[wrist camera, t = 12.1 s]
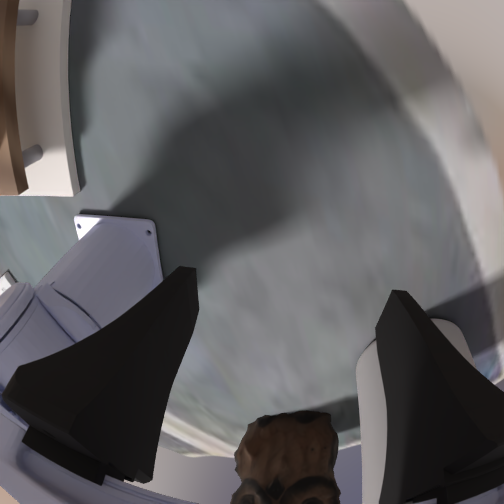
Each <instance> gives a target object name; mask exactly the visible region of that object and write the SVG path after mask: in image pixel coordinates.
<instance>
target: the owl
mask: <svg viewBox="0 0 504 504" xmlns="http://www.w3.org/2000/svg"><path fill="white" fill-rule="evenodd" d="M338 443H339V440H338V435H337V433H336V432H335V431H334V429H333V427H332V425H331V415H330V414H329V413H323V412H314V411H298V412H295V413H292V414H287V413H281V414H279V415H274V416H269V415H265V416H263V417H260V418H257V420H256V421H255V422H253V423H251V424H248V429H247V432H246V434H245V435H244V437H243V438H242V440H241V443H240V445H239V447H238V449H237V450H236V452H235V454H234V456H235V461H236V463H237V465H236V468H235V471H236V472H237V473H238V476H239V477H240V479H241V481H242V484H241V486H240V487H239V488H238V489H237V491H236V492H235V493H234V494H233V495H232V499H231V502H230V504H340V500H339V496H340V494H341V492H340V490H339V488H338V486H337V483H336V481H335V478H334V471H333V468H334V465H335V462H336V458H337V454H338Z"/></svg>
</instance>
